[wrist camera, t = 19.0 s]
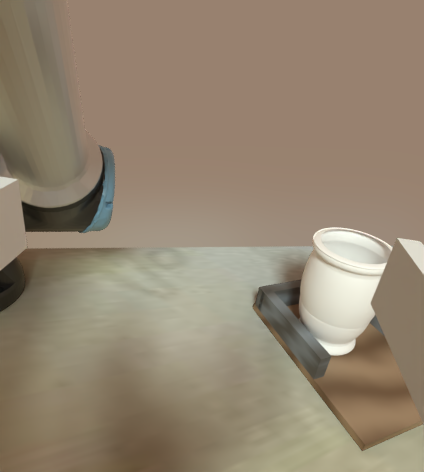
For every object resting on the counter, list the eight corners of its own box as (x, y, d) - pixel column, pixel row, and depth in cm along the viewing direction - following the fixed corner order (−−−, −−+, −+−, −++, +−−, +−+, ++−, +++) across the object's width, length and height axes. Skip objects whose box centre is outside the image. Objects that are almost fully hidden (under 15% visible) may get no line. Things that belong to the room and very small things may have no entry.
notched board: (252, 308, 58) (258, 285, 56) (337, 291, 65) (344, 270, 62) (362, 450, 39) (376, 424, 37) (464, 405, 46) (481, 380, 44)
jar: (318, 371, 46) (354, 274, 39) (274, 319, 54) (297, 230, 47) (378, 352, 51) (419, 261, 44) (328, 306, 59) (357, 223, 52)
